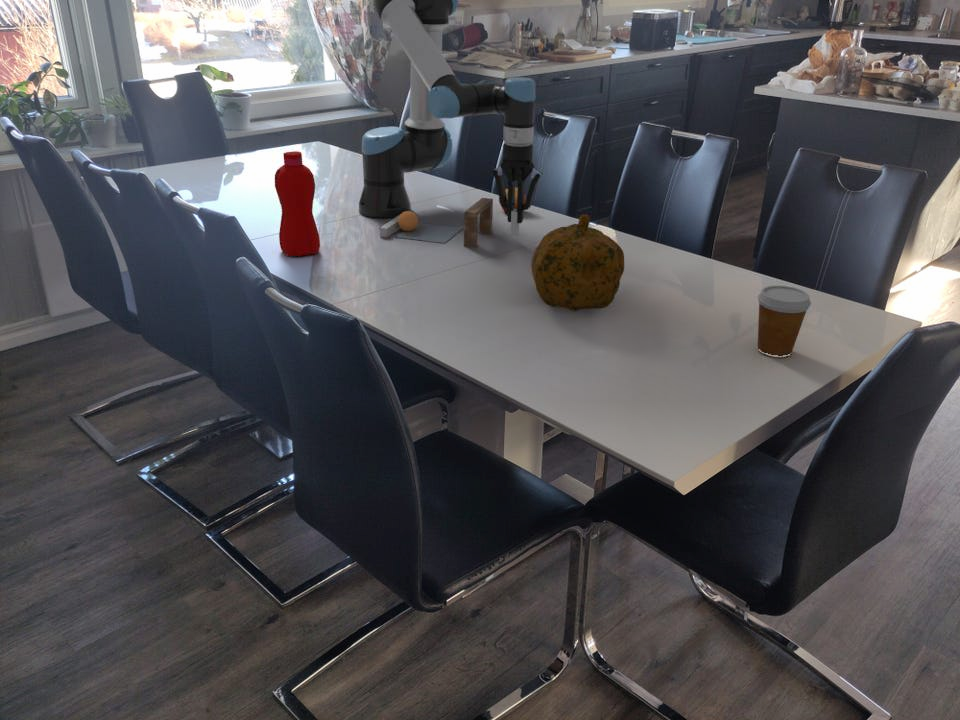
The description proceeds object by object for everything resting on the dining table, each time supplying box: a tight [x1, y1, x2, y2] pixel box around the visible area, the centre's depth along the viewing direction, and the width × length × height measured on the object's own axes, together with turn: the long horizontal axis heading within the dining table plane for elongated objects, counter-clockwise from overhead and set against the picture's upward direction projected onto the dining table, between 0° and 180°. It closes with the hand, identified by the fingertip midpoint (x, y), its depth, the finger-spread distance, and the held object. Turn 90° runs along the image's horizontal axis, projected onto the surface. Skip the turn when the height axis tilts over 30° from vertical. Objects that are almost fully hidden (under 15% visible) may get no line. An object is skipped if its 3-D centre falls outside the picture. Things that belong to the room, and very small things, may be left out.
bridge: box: [463, 197, 494, 248], centre depth 219 cm, size 3×14×9 cm, turn 161°
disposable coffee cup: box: [757, 285, 812, 356], centre depth 158 cm, size 10×10×12 cm
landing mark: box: [395, 222, 464, 244], centre depth 225 cm, size 14×14×1 cm
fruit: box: [498, 187, 527, 214], centre depth 244 cm, size 8×8×8 cm
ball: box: [398, 210, 419, 232], centre depth 225 cm, size 6×6×6 cm
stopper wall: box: [379, 214, 401, 238], centre depth 227 cm, size 2×16×2 cm, turn 161°
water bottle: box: [274, 150, 321, 257], centre depth 204 cm, size 9×11×25 cm
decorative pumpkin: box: [530, 214, 625, 312], centre depth 178 cm, size 20×21×20 cm
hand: (514, 234), depth 217 cm, fingers closed
